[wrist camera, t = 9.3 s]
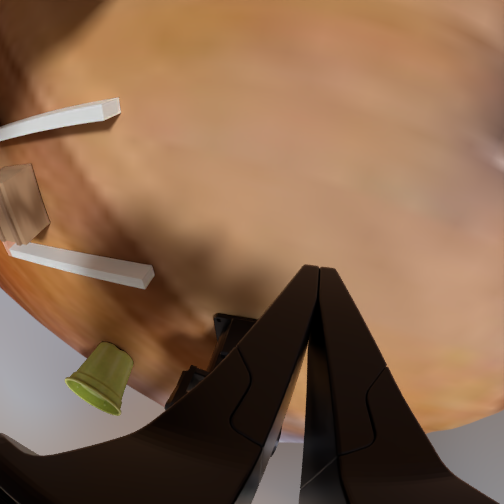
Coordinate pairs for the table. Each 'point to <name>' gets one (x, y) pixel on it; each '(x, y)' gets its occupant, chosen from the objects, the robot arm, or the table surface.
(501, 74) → the table surface
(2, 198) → the crate
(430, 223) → the table surface
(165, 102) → the table surface
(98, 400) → the plant pot
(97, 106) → the bay
